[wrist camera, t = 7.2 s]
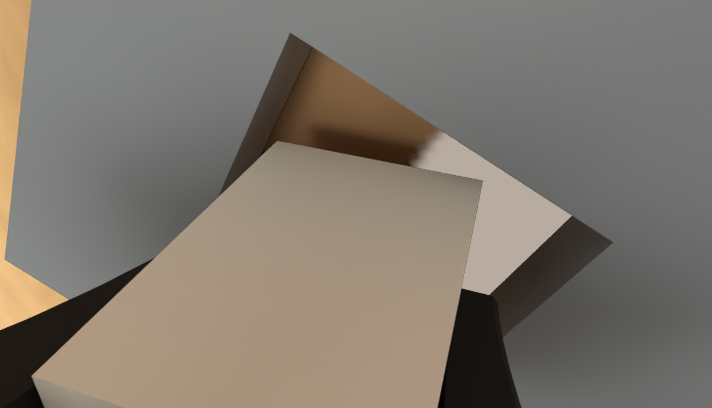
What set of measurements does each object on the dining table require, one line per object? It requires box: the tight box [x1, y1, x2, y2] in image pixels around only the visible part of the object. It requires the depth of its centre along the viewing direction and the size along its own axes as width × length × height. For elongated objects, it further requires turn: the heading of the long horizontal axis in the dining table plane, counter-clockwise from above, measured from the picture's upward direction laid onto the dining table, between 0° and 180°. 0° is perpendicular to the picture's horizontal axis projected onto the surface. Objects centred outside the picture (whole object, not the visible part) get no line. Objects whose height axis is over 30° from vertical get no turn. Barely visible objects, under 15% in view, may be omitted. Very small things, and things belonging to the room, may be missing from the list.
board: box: [5, 0, 712, 408], centre depth 11 cm, size 16×14×2 cm
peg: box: [32, 141, 483, 408], centre depth 8 cm, size 4×4×6 cm
